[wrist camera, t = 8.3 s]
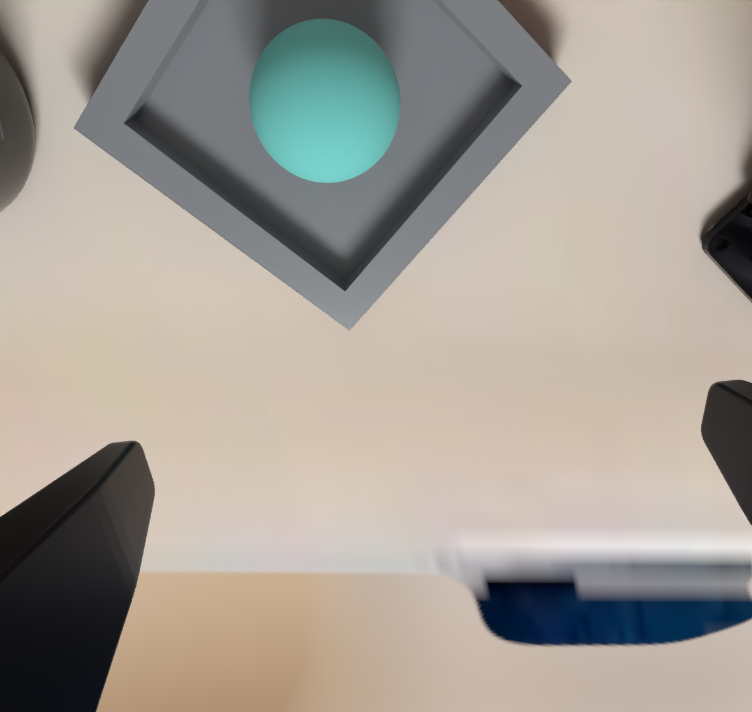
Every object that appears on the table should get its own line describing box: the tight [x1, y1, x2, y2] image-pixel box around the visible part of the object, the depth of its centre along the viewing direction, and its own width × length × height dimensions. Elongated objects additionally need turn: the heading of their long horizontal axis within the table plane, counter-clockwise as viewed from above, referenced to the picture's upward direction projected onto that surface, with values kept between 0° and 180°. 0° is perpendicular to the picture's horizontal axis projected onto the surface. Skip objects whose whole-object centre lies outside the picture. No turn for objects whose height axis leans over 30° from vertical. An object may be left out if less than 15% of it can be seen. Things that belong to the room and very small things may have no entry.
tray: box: [74, 0, 572, 331], centre depth 17 cm, size 10×10×2 cm
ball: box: [249, 19, 400, 183], centre depth 16 cm, size 4×4×4 cm
